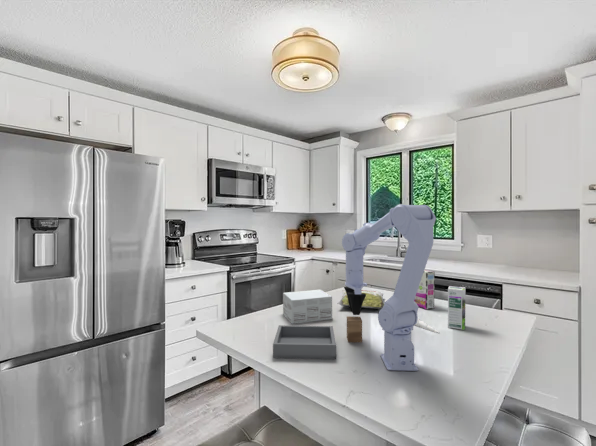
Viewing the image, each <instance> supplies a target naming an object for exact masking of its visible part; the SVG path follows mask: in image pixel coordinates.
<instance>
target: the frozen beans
mask: <svg viewBox="0 0 596 446" xmlns="http://www.w3.org/2000/svg"><path fill="white" fill-rule="evenodd" d="M361 293H365V294H366V297H365V299H364V301H363V303H362V307H361V309H362V308H365V309H376V310H381V309H382V308H383V306H384V303H385V302H384V300H383V297H384V293H383V292H380V291H377V290H375V291H374V290H363V289H361ZM337 305H340V306H342V307H349V304H348V298H347V294H346V291H345V289H343V290H342V296H341V299H340V301H338V303H337Z"/></svg>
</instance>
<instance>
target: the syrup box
mask: <svg viewBox="0 0 596 446" xmlns="http://www.w3.org/2000/svg"><path fill="white" fill-rule="evenodd" d="M447 328H448V329H453V330H454V329H456V330H462V331H465V330H466V287H465V286H464V287H462V286H452V285H449V286H448V288H447Z"/></svg>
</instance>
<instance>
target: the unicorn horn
mask: <svg viewBox="0 0 596 446" xmlns="http://www.w3.org/2000/svg"><path fill="white" fill-rule="evenodd" d="M414 326H416V327H418V328H421V329H423V330H424V329H425V330H427V331H430V332H434V333H436V334H440V331H438V330H437V329H435V328H434V327H432V326H431V325H430V324H427V323H426V322H425V321H423V320H420V319H419V318H418V320H417V323H416V324H415V325H414Z"/></svg>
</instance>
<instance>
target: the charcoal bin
mask: <svg viewBox="0 0 596 446" xmlns="http://www.w3.org/2000/svg"><path fill="white" fill-rule="evenodd" d="M333 327H334V326H333V325H285V324H284V325H281V324H280V325H278V327H277V331H276V334H275V337H274V340H273V343H272V358H273V359H306V360H308V359H311V360H313V359H314V360H315V359H316V360H318V359H319V360H336V359H337V344H336V343H337V342H336V337H335V332H334V331H335V330H334V328H333Z"/></svg>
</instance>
